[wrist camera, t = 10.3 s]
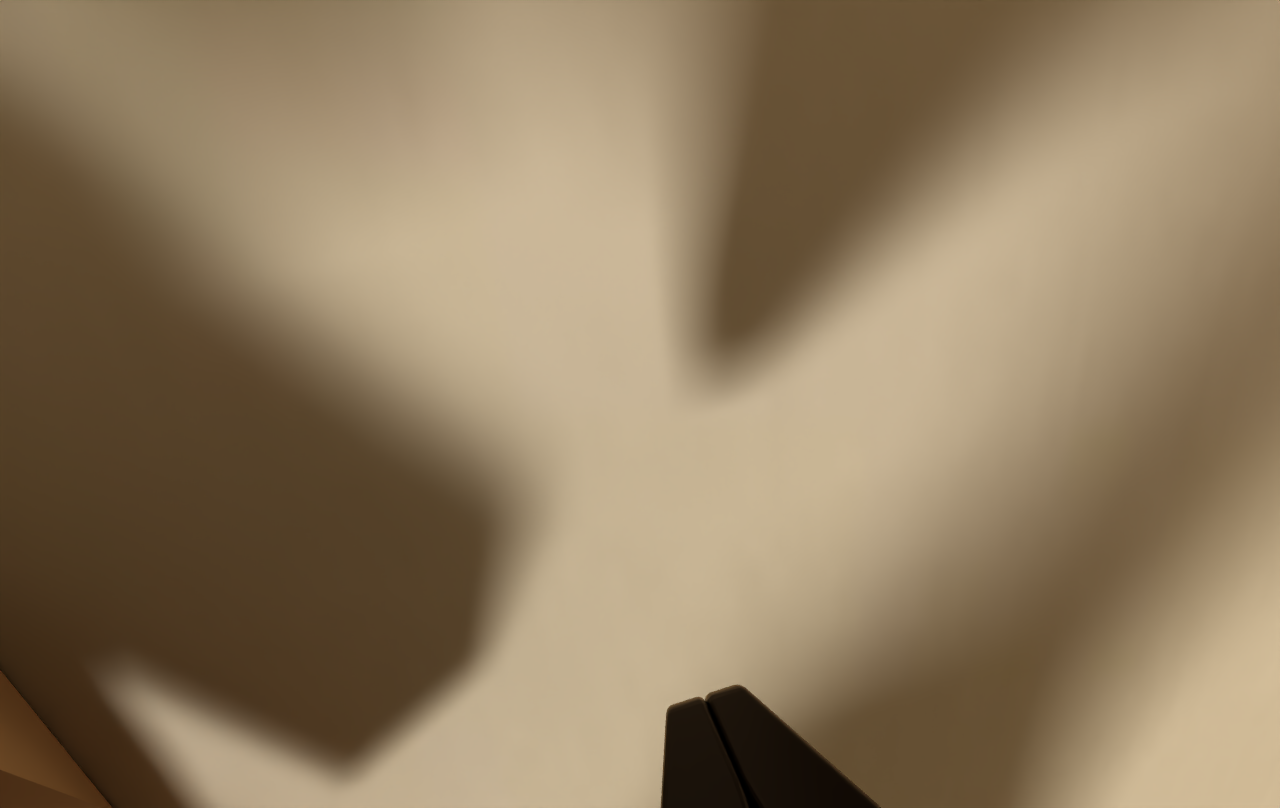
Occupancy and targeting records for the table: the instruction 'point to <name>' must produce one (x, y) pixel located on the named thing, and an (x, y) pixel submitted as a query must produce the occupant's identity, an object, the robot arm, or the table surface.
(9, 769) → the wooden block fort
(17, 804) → the leg
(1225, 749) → the table surface
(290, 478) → the table surface
